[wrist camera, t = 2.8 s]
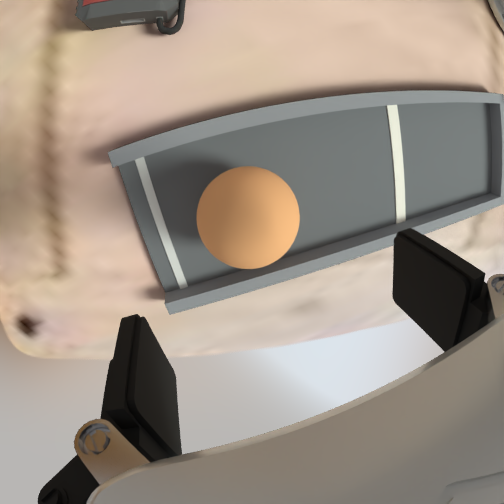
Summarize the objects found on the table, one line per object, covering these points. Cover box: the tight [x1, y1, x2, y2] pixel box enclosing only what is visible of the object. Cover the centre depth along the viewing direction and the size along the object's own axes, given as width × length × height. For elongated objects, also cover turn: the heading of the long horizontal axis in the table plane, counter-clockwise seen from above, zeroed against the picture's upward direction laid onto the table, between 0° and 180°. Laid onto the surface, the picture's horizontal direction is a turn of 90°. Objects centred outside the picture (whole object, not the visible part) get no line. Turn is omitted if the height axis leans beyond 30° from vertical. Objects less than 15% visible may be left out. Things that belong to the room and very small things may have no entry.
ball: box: [196, 166, 300, 269], centre depth 18 cm, size 6×6×6 cm
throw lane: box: [108, 90, 504, 315], centre depth 21 cm, size 12×35×2 cm, turn 103°
